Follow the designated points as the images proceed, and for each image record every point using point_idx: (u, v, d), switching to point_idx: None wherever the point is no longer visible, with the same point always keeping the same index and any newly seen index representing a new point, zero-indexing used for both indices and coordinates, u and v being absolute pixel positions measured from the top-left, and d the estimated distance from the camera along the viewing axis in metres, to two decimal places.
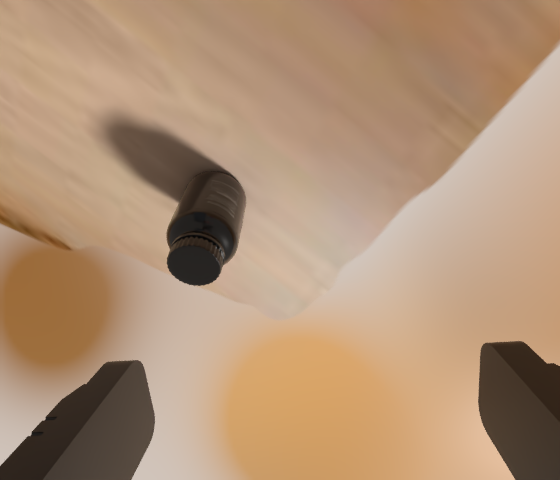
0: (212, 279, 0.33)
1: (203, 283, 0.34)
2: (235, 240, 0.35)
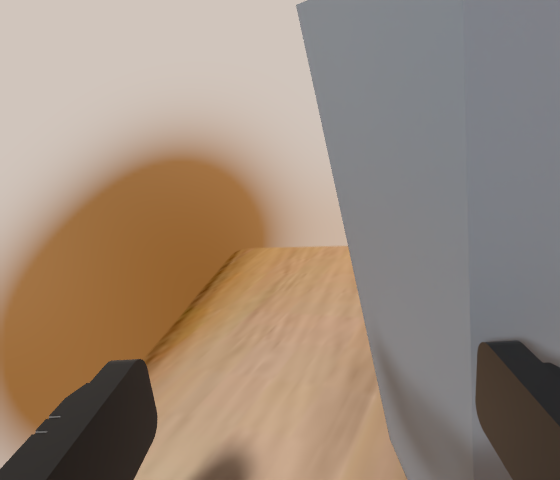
0: None
1: None
2: None
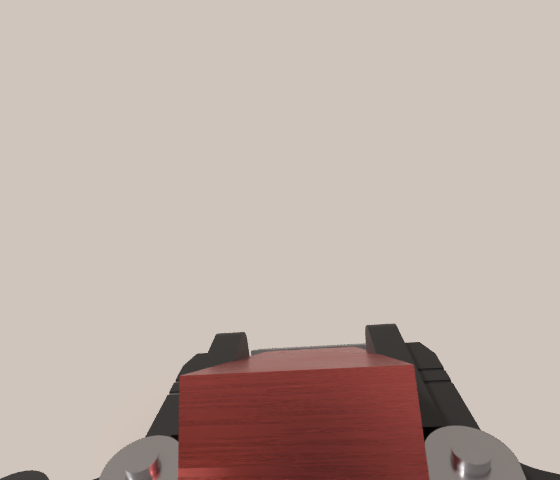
0: None
1: None
2: None
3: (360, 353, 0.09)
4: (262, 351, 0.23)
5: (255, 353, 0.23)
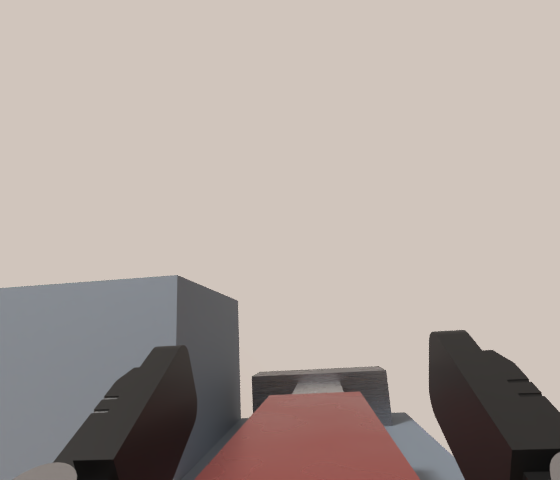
0: None
1: None
2: None
3: (368, 426, 0.08)
4: (263, 377, 0.23)
5: (256, 379, 0.23)
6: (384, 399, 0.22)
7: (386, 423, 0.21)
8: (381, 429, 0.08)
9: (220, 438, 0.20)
